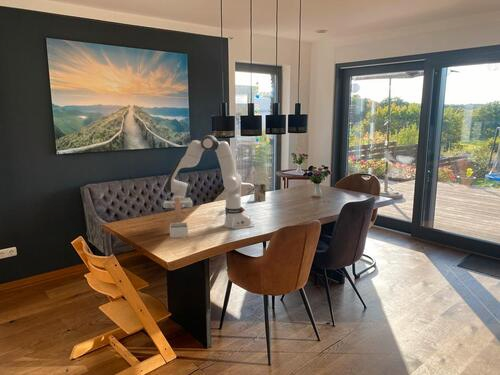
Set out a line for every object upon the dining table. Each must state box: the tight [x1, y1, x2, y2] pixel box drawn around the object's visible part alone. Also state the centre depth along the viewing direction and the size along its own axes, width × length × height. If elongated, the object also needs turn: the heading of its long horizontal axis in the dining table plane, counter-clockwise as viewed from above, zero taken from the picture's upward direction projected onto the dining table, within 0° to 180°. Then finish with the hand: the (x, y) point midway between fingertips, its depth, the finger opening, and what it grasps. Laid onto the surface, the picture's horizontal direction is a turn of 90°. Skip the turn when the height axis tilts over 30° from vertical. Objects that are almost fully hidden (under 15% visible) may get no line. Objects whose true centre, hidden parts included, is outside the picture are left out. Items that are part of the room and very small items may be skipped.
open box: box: [169, 222, 189, 239], centre depth 266 cm, size 12×12×7 cm
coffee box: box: [253, 183, 266, 203], centre depth 364 cm, size 9×6×16 cm
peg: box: [174, 198, 182, 220], centre depth 263 cm, size 4×4×14 cm
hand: (177, 206), depth 261 cm, fingers closed on peg, 4 cm apart
